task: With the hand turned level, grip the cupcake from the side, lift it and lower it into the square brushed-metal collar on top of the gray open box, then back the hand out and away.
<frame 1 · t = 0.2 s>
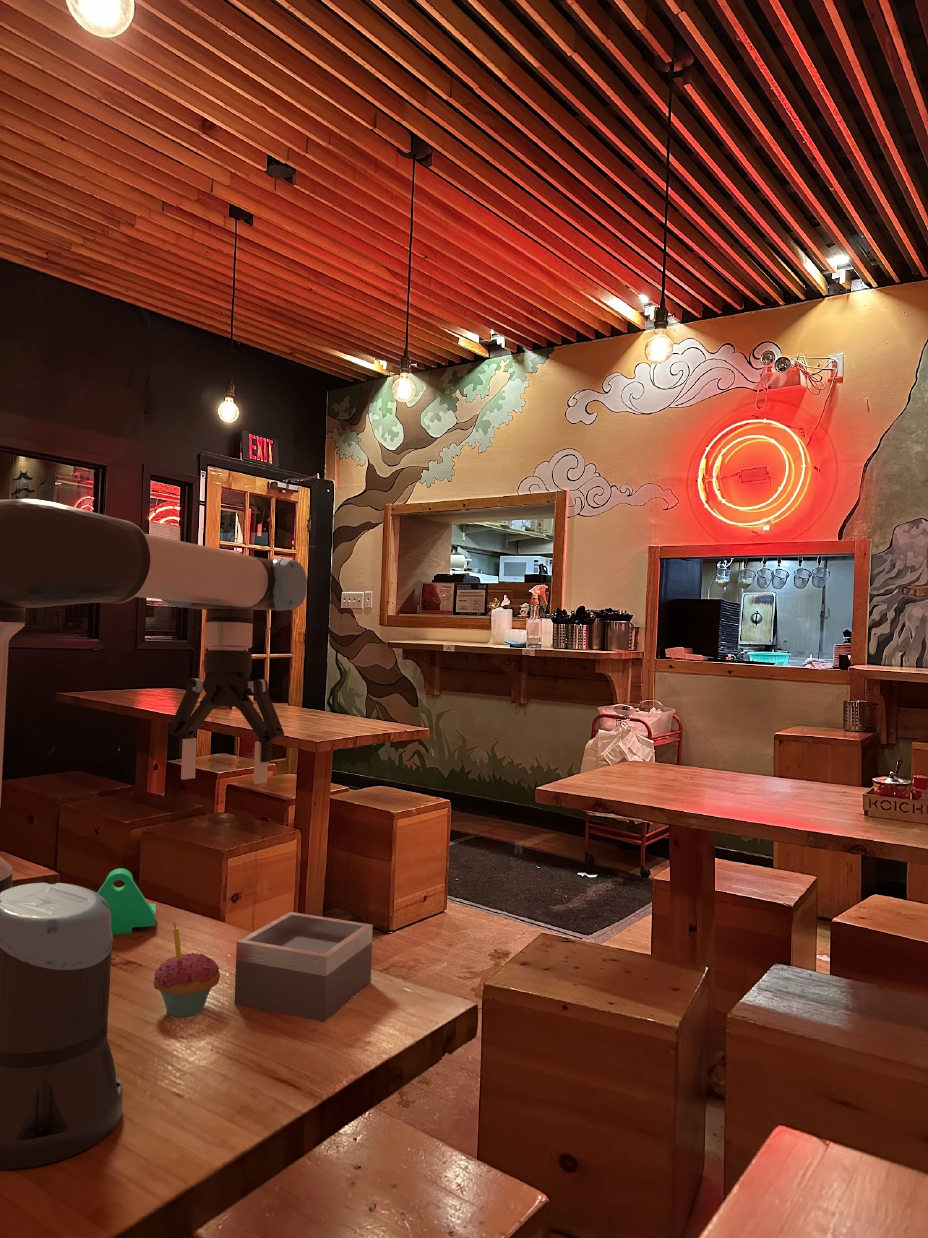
hand: (223, 781, 138), 27 cm above the table, tool pointing down, fingers open, 13 cm apart
camera mount: (117, 929, 146), on the table
gray open box: (304, 993, 121), on the table
collar: (306, 941, 122), on the gray open box, point 7 cm above the table
cupcake: (185, 1010, 115), on the table
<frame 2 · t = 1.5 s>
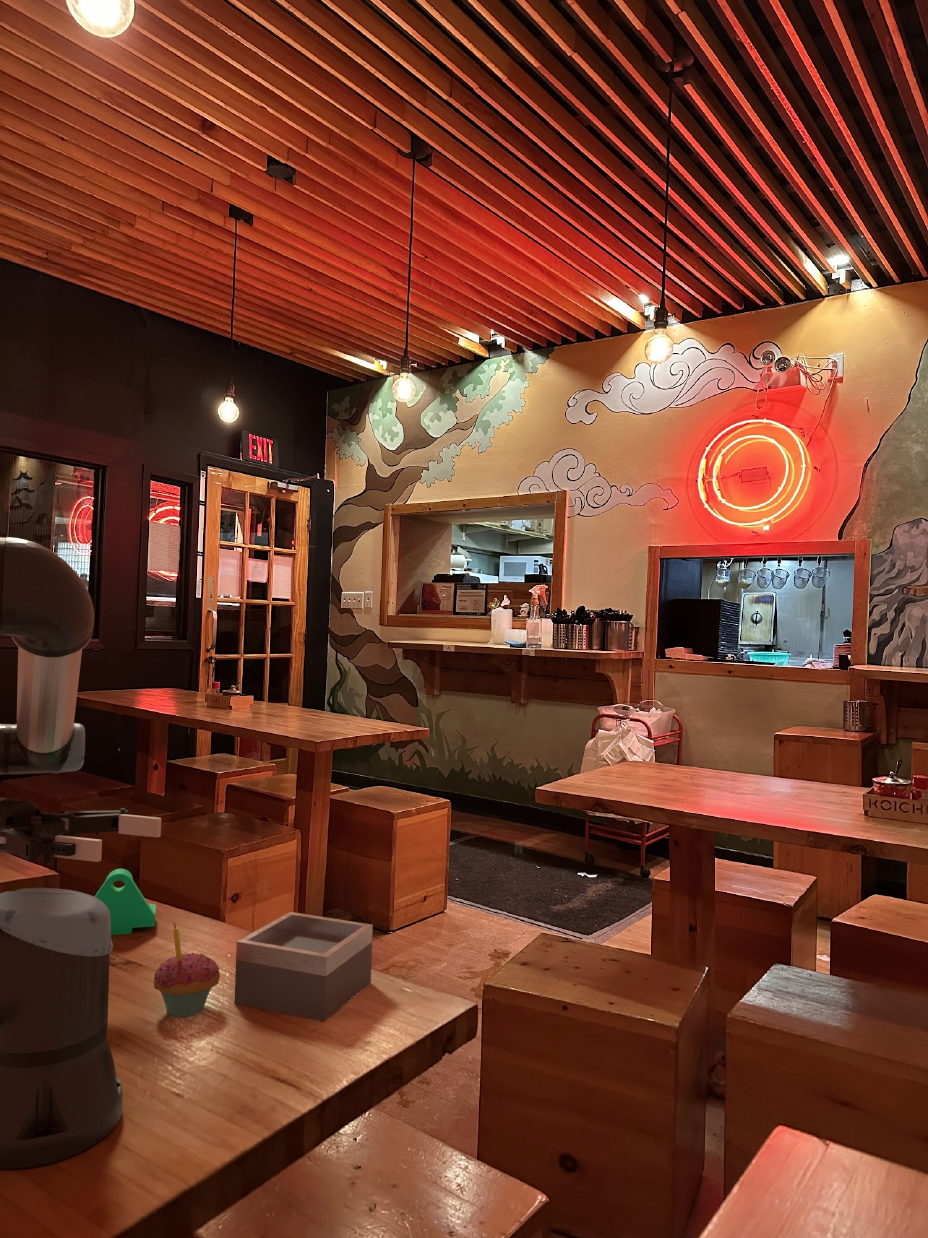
hand: (131, 838, 118), 22 cm above the table, tool horizontal, fingers open, 13 cm apart
nothing on the table moved.
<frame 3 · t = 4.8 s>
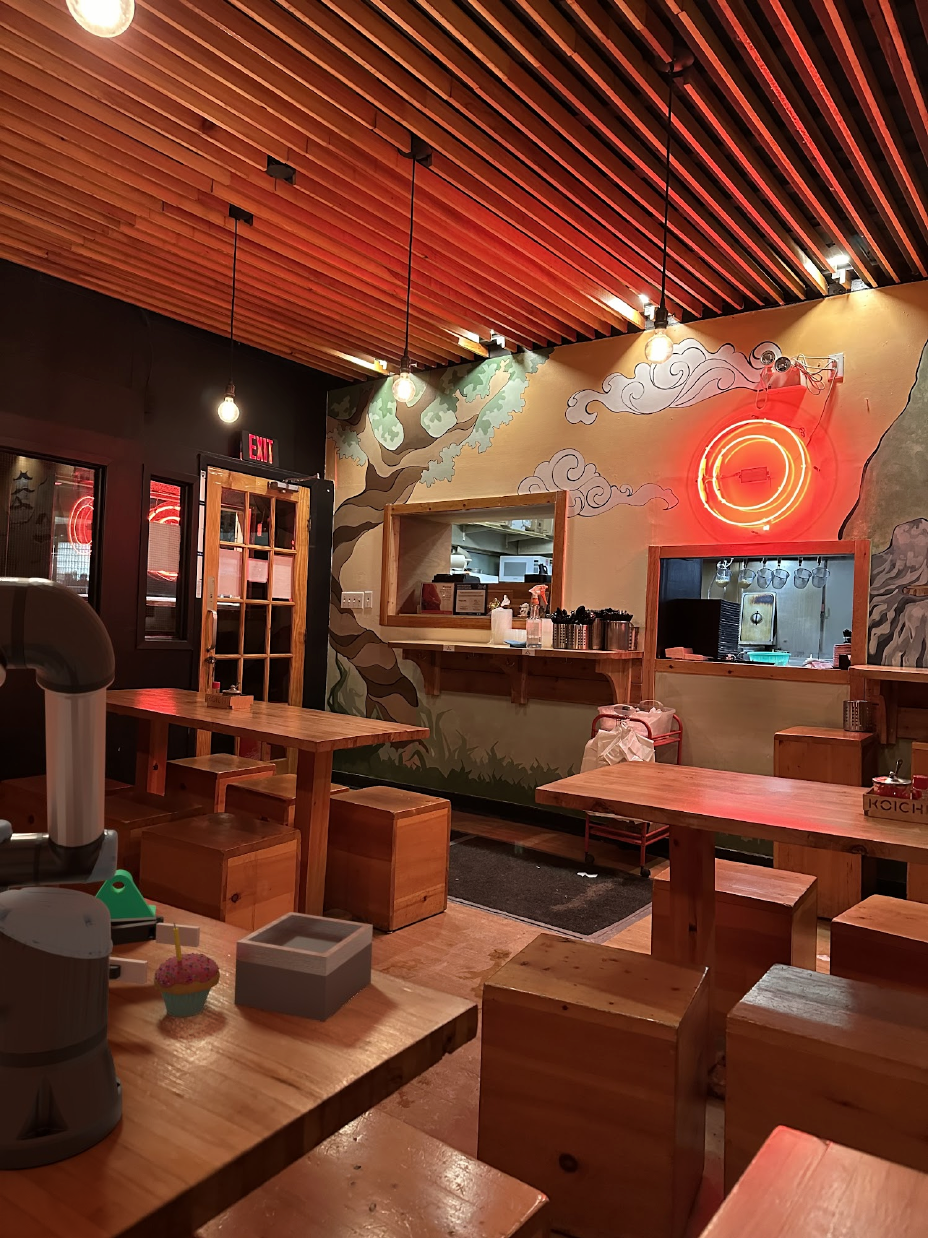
hand: (173, 954, 116), 7 cm above the table, tool horizontal, fingers open, 13 cm apart
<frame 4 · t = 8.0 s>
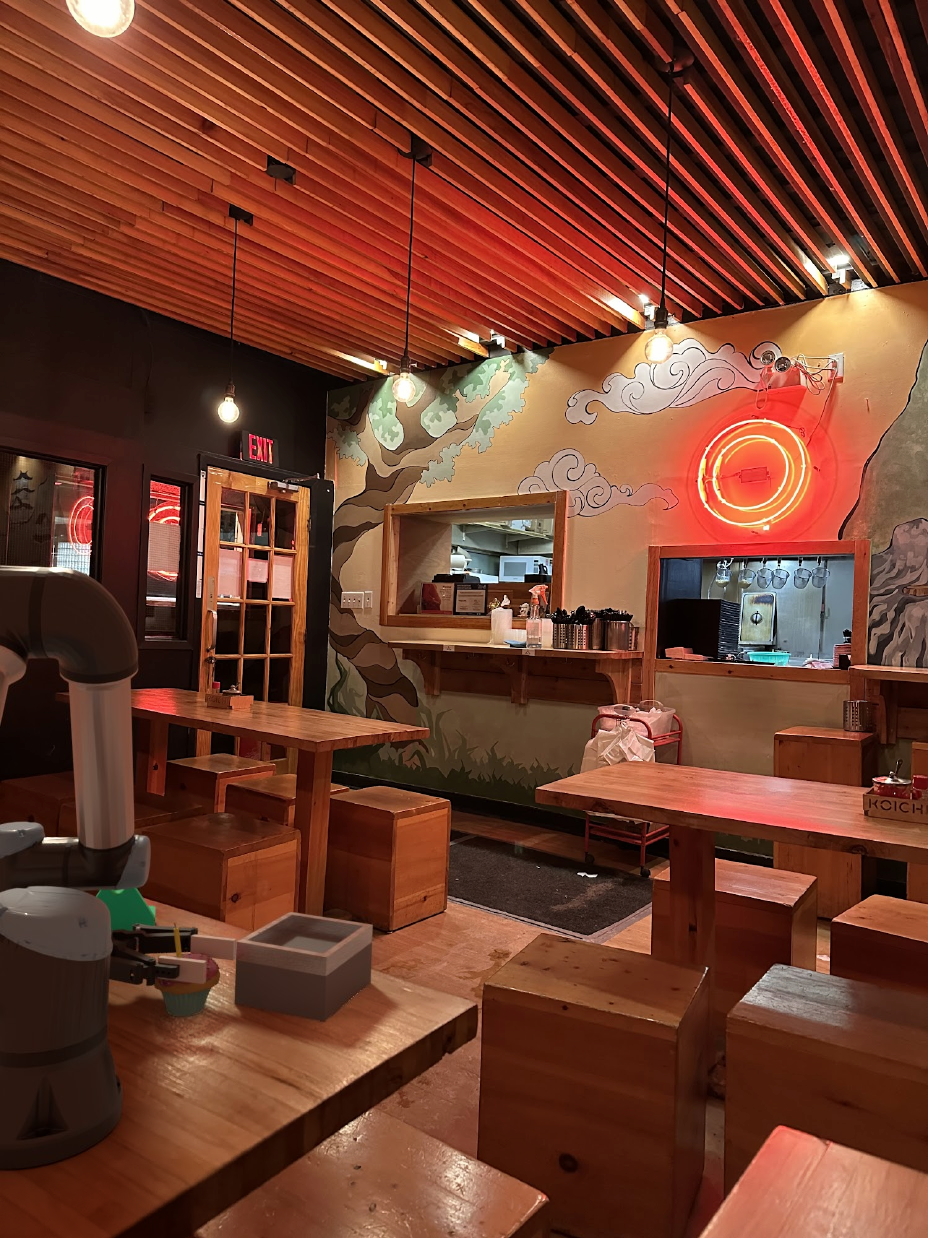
hand: (220, 960, 114), 7 cm above the table, tool horizontal, fingers closed on cupcake, 8 cm apart
cupcake: (185, 1010, 115), on the table, touching gripper
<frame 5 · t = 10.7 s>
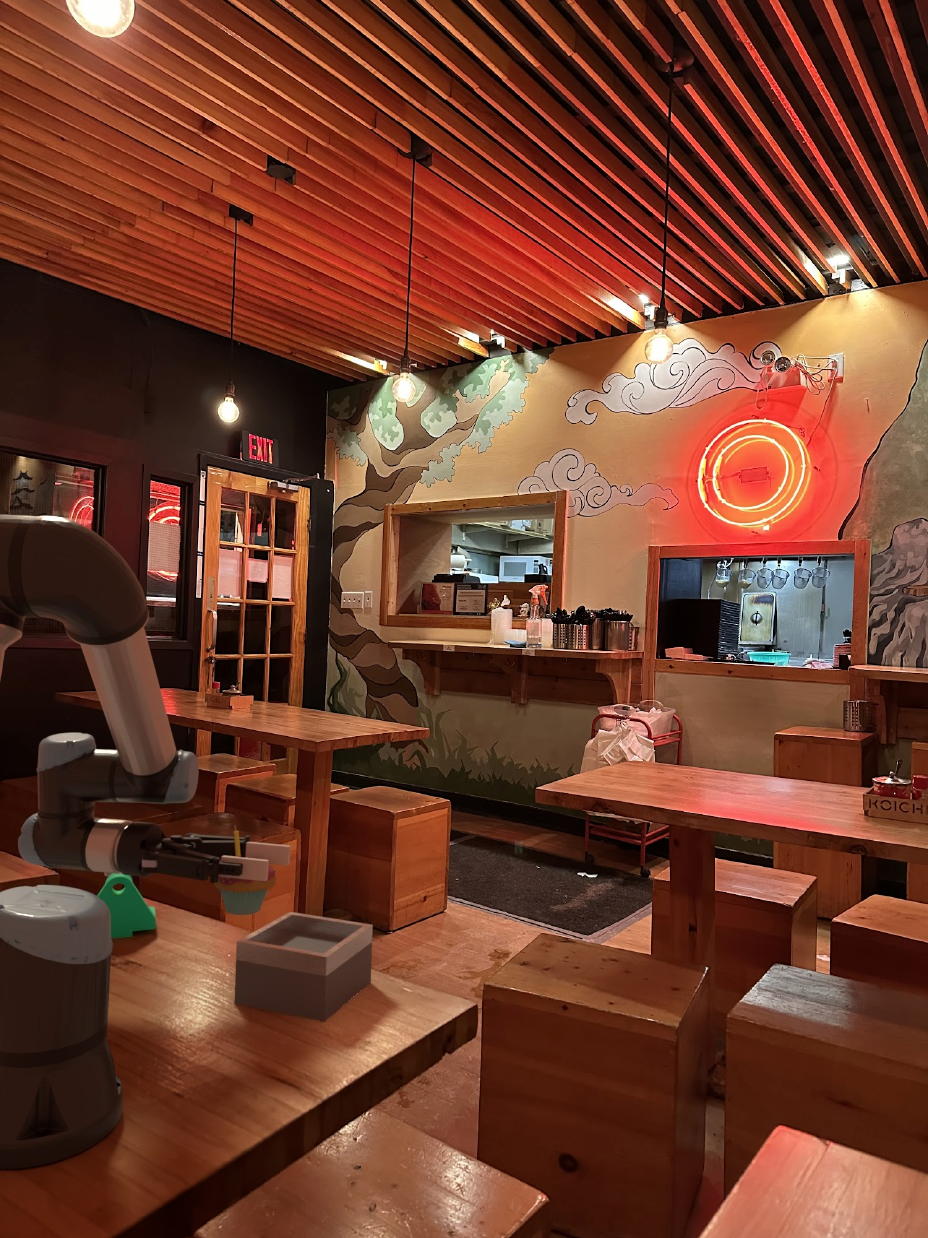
hand: (278, 862, 119), 19 cm above the table, tool horizontal, fingers closed on cupcake, 8 cm apart
cupcake: (242, 911, 120), point 12 cm above the table, touching gripper
when the fingers open (14 cm above the table, at t = 13.4 s): cupcake drops 1 cm, resting on gray open box.
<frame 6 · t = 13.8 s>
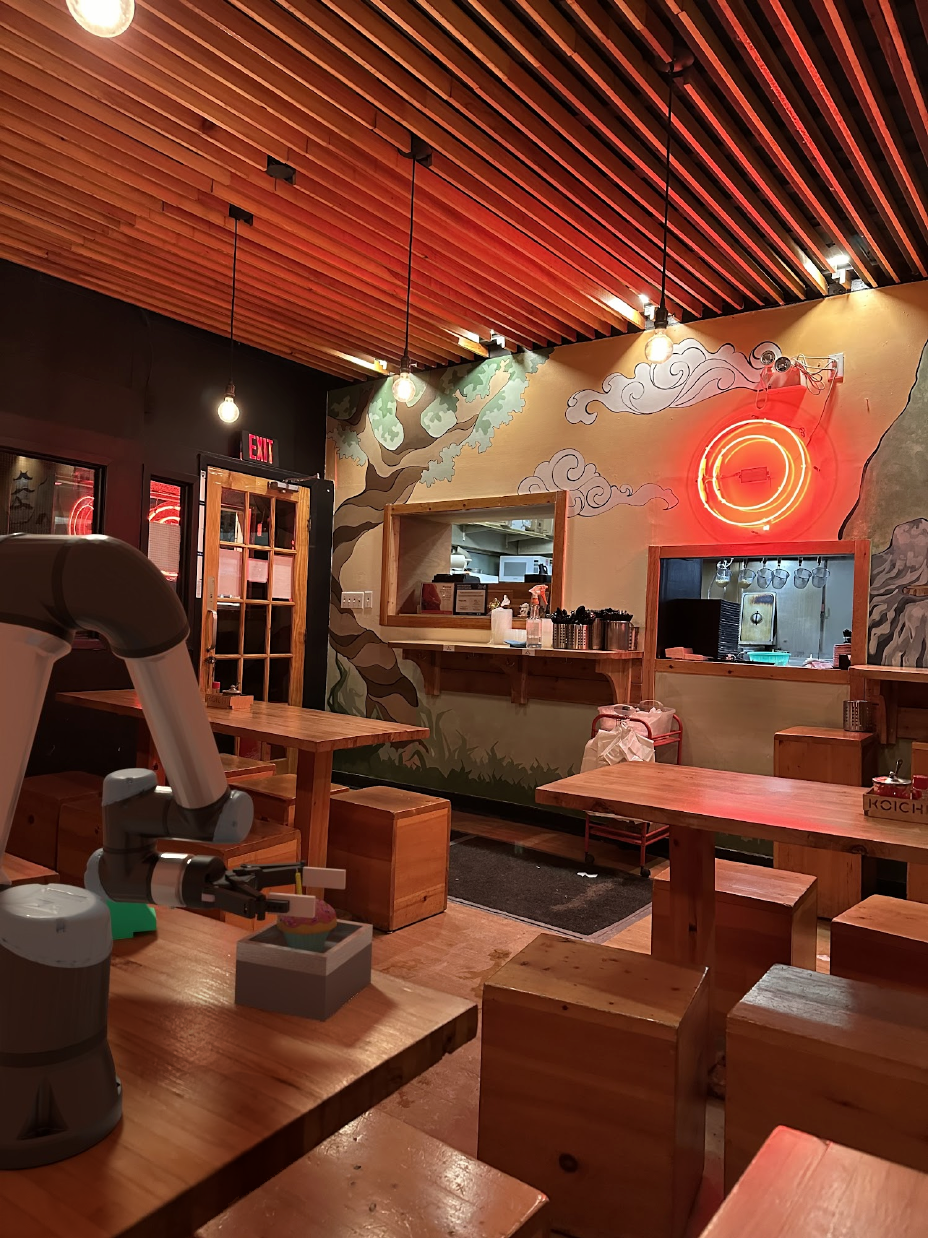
hand: (330, 892, 121), 15 cm above the table, tool horizontal, fingers open, 13 cm apart
cupcake: (305, 951, 122), point 6 cm above the table, touching gray open box
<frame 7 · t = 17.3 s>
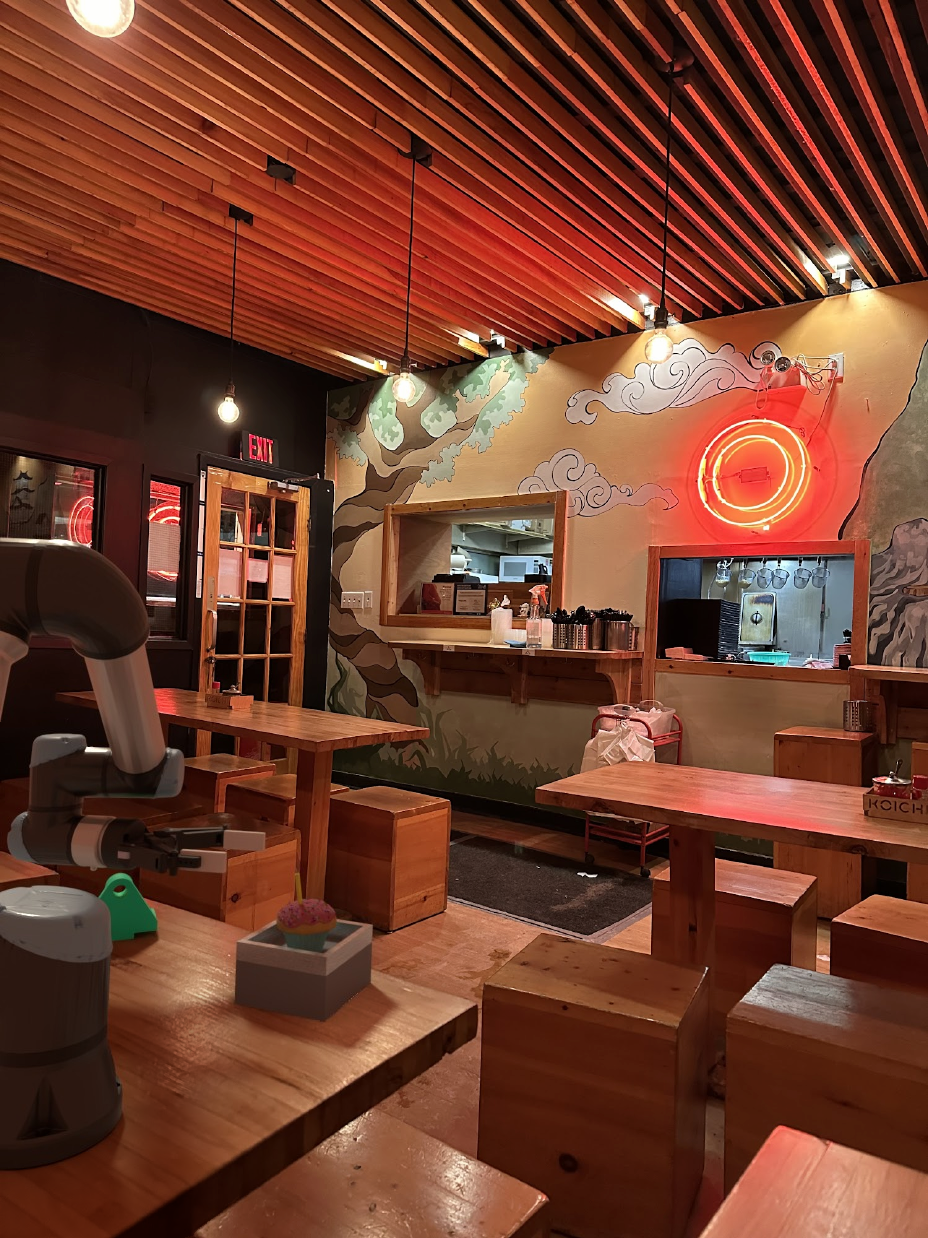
hand: (246, 851, 124), 19 cm above the table, tool horizontal, fingers open, 13 cm apart
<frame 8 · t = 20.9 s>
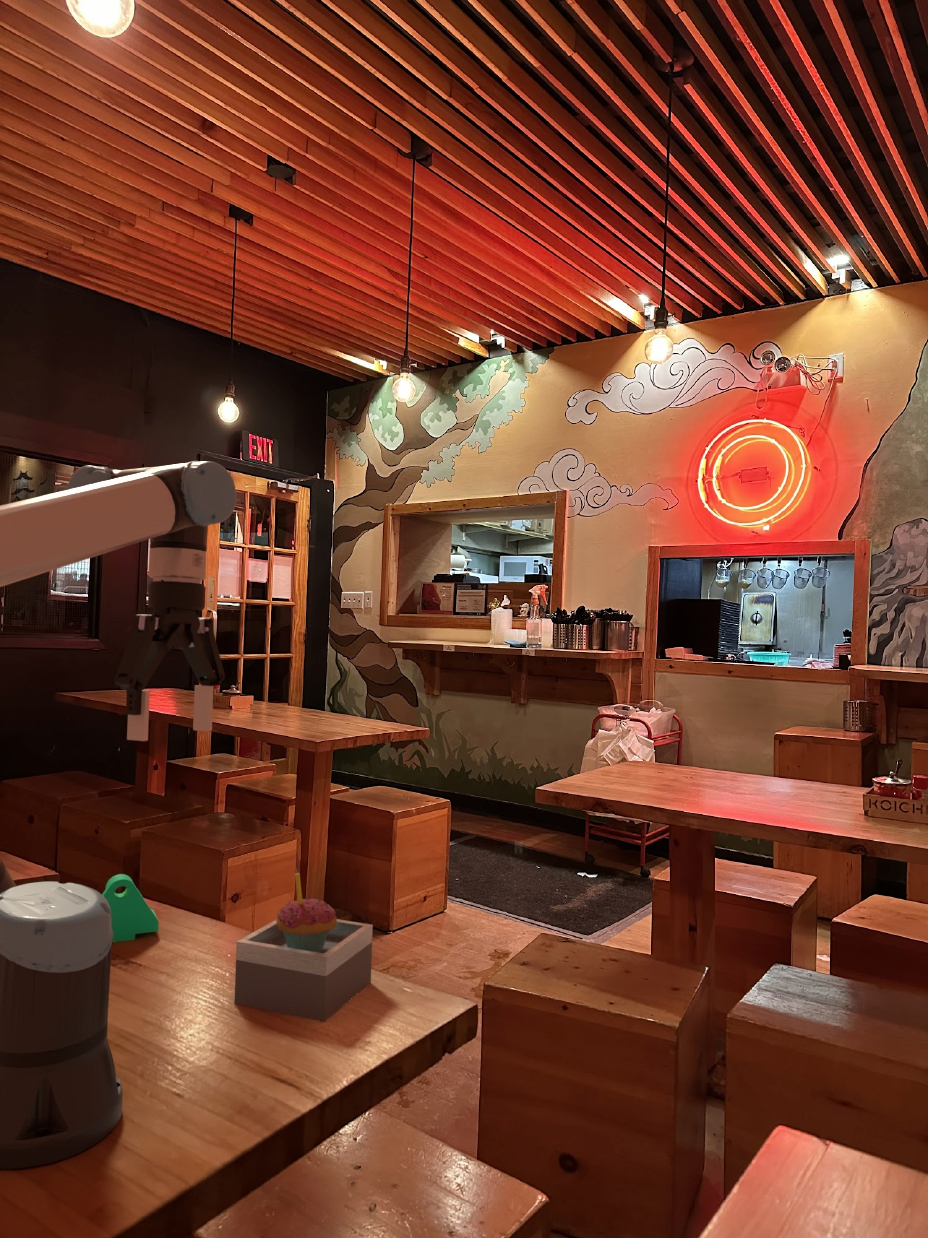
hand: (171, 735, 117), 37 cm above the table, tool pointing down, fingers open, 13 cm apart
at the end: cupcake 0.1 cm off-centre on the gray open box, point 5.8 cm above the gray open box's base; cupcake tilted 0°; the gripper is holding nothing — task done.
